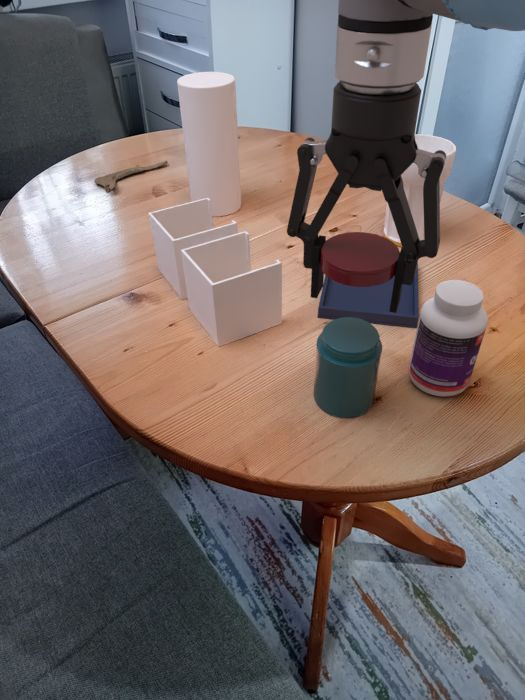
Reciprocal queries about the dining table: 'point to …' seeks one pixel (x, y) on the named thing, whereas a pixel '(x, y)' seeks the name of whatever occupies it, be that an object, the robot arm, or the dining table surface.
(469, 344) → the pill bottle
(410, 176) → the cup
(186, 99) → the tall pillar cylinder
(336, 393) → the jar
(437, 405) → the dining table surface
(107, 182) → the tan bone
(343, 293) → the tray
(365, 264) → the lid
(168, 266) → the storage container
